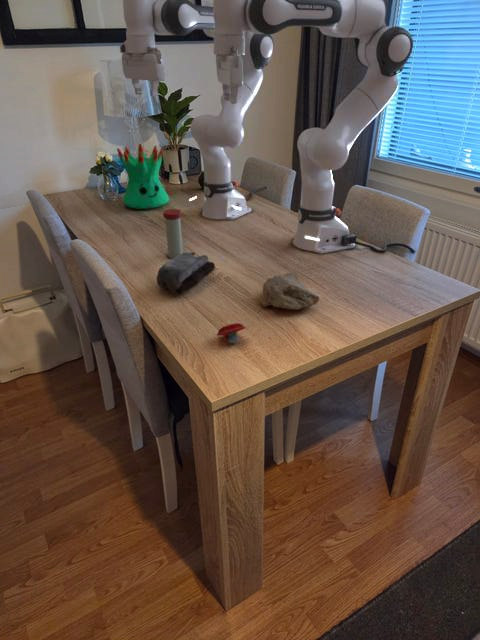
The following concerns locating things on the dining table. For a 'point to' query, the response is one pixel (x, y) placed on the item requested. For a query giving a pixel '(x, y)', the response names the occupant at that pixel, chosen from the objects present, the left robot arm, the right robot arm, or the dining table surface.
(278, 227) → the dining table surface
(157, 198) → the toy
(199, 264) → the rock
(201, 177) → the toy
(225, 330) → the red toy mushroom
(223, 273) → the dining table surface
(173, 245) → the jar
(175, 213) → the lid
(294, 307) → the rough grey stone
